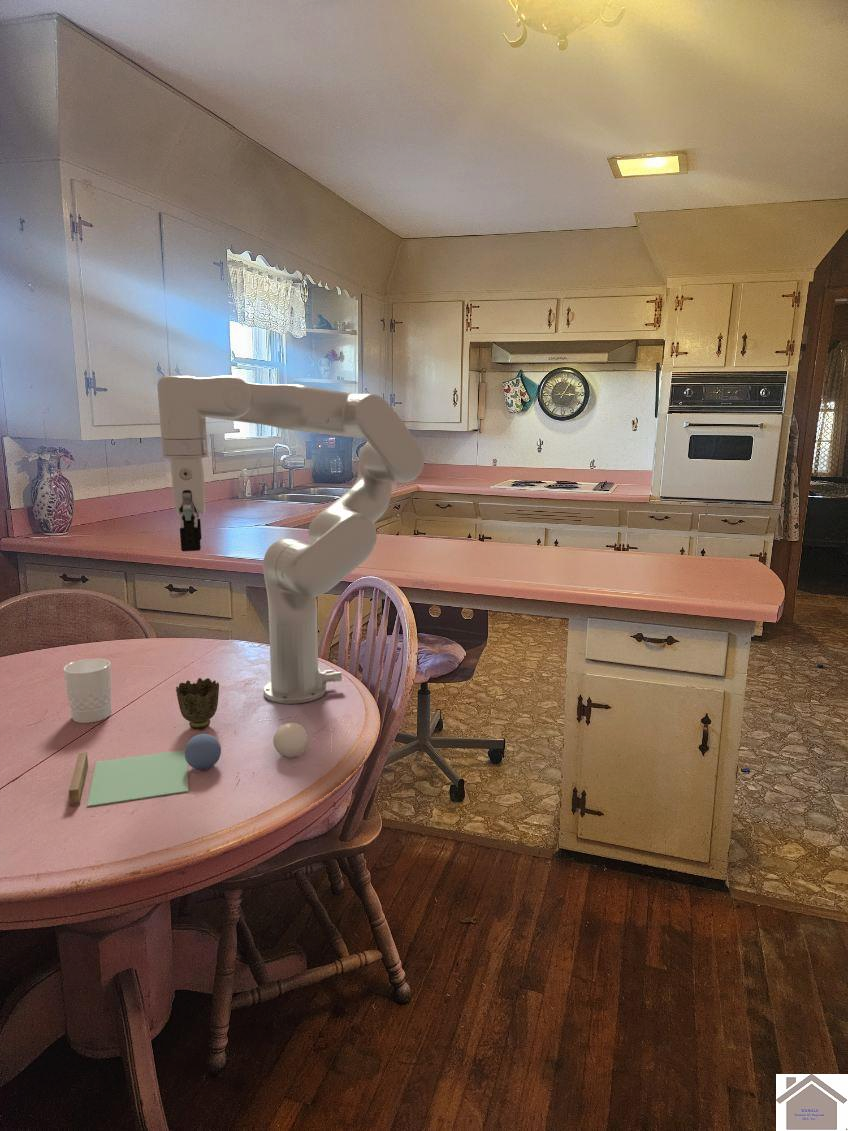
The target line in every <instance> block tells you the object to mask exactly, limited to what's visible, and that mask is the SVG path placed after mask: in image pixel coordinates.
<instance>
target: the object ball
mask: <svg viewBox="0 0 848 1131" xmlns="http://www.w3.org/2000/svg"><path fill="white" fill-rule="evenodd" d="M184 750H185V759H186V761H187V765H189V767H191V768H192V769H194V770H199V771H203V770H208V769H210V768H212V767H214V766H215V765H216V764H217V763H218V761H219V760H220V757H221V755H222V754H221V753H222V752H221V751H222V747H221V744H220V742H219V740H218V739H217V737H215V736H214V735H211V734H208V733H200V734H199V733H198V734H197V735H195V736H193V737H192V738H191V739H190V740H188V742H187V743H186V745H185V747H184Z"/></svg>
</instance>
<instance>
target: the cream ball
mask: <svg viewBox="0 0 848 1131" xmlns="http://www.w3.org/2000/svg"><path fill="white" fill-rule="evenodd" d="M272 743H273V747H274V749H275V751H276V752H277V753H278V754H279V755H280V756H283V757H285V758H294V757H297V756H300V755H301V753H303V752H304V750H305V749H306V747H307V745H308V734H307V732H306V730H305V728H304V727H303V726H301V725H300V724H299V723H296V722H288V723H284V724H282V725H281V726H279V727H278V728H277V729H276V731H275V733H274V735H273V740H272Z"/></svg>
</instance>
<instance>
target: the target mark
mask: <svg viewBox="0 0 848 1131" xmlns="http://www.w3.org/2000/svg"><path fill="white" fill-rule="evenodd" d="M188 775H189V773H188V763H187V761H186V759H185V749H181V750H174V751H173V750H172V751H165V752H159V753H152V754H151V753H150V754H143V755H136V756H130V757H127V756H126V757H122V758H121V757H120V758H114V759H107V760H98V761H95V766H94V771H93V775H92V780H91V785H90V788H89V794H88V800H87V805H86V807H87V808H90V807H91V808H92V807H96V806H103V805H109V804H116V803H122V802H123V803H124V802H130V801H136V800H143V799H149V798H156V797H163V796H170V795H175V794H184V793H188V792H189V776H188Z"/></svg>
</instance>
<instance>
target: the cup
mask: <svg viewBox="0 0 848 1131" xmlns="http://www.w3.org/2000/svg"><path fill="white" fill-rule="evenodd" d="M175 692H176V696H177V702H178V707H179V711H180V713H181V716H182V718H184V719H185V720H186V721H188V724H189V727H190V728H191V730H196V731H197V730H198V731H200V730H205V729H207V728H209V726H210V724H211V719H212V718H213V717H214V716H215V714H216V713H217V710H218V706H219V695H220V694H219V692H220V683H219V681H216V680H213V681H212V680H211V679H210V678H209V677H207V678H205V679H202V678H201V677H199V678H198V679H197V681H196V682H191V681H190V680H189V679H188V680H186V682H180V683H179V684H178V686H177V685H176V687H175Z"/></svg>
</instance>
